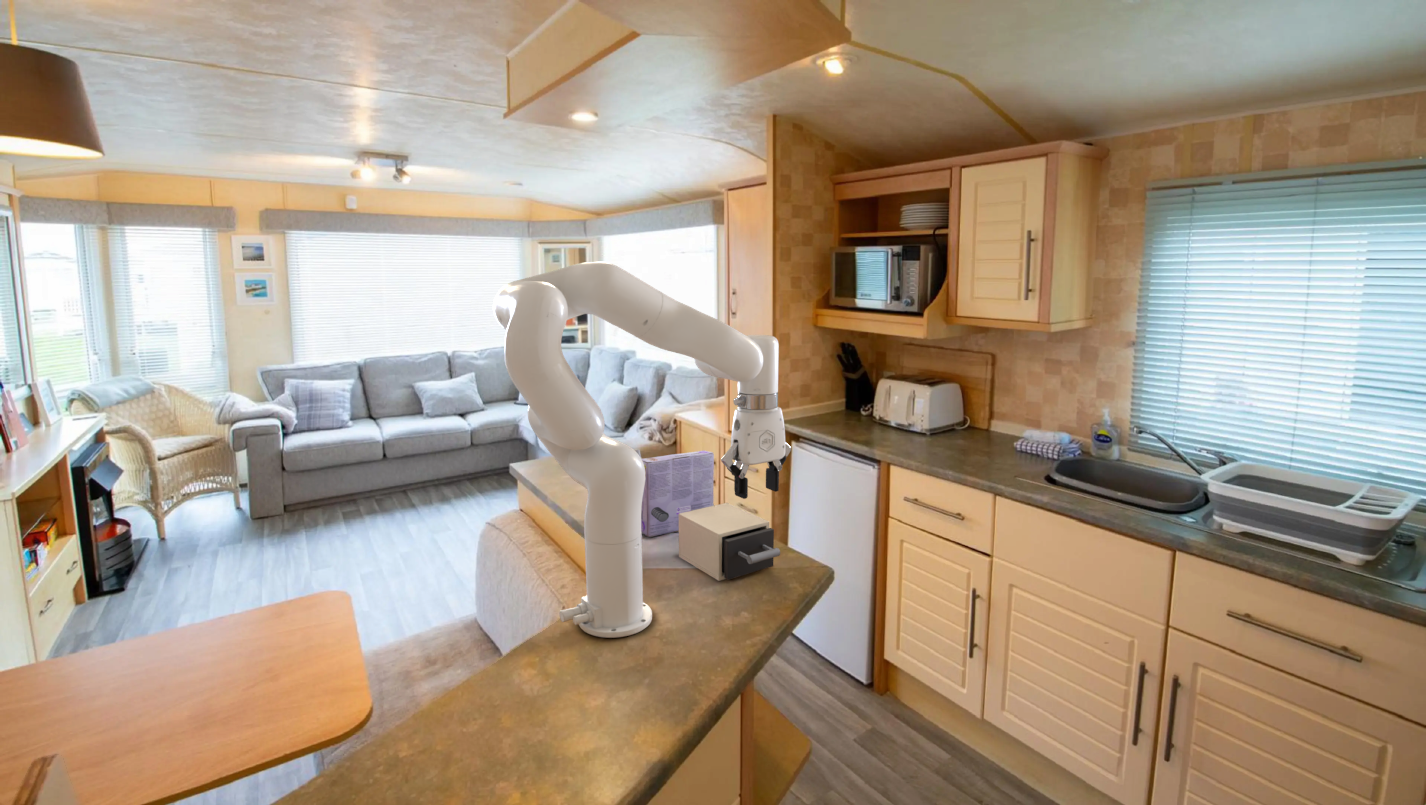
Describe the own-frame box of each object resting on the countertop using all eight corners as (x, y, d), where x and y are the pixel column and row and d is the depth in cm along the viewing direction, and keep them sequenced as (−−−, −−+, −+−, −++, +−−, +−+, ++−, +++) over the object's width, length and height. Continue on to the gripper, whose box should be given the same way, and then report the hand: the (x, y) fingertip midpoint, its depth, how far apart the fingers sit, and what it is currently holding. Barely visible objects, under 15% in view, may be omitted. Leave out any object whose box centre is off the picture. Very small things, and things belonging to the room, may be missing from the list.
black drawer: (788, 573, 137) (789, 536, 135) (742, 588, 130) (742, 549, 129) (733, 545, 151) (733, 510, 150) (689, 557, 145) (689, 521, 143)
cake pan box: (707, 516, 172) (707, 447, 168) (718, 522, 167) (718, 451, 164) (637, 532, 161) (636, 458, 158) (648, 539, 157) (646, 463, 154)
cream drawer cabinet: (768, 565, 143) (769, 521, 141) (718, 580, 135) (718, 534, 134) (726, 543, 154) (727, 502, 153) (678, 556, 147) (678, 513, 146)
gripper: (732, 409, 122) (731, 507, 125) (806, 399, 132) (804, 490, 135) (708, 403, 128) (708, 496, 131) (780, 394, 138) (778, 481, 141)
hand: (756, 492), depth 133 cm, fingers open, 6 cm apart
